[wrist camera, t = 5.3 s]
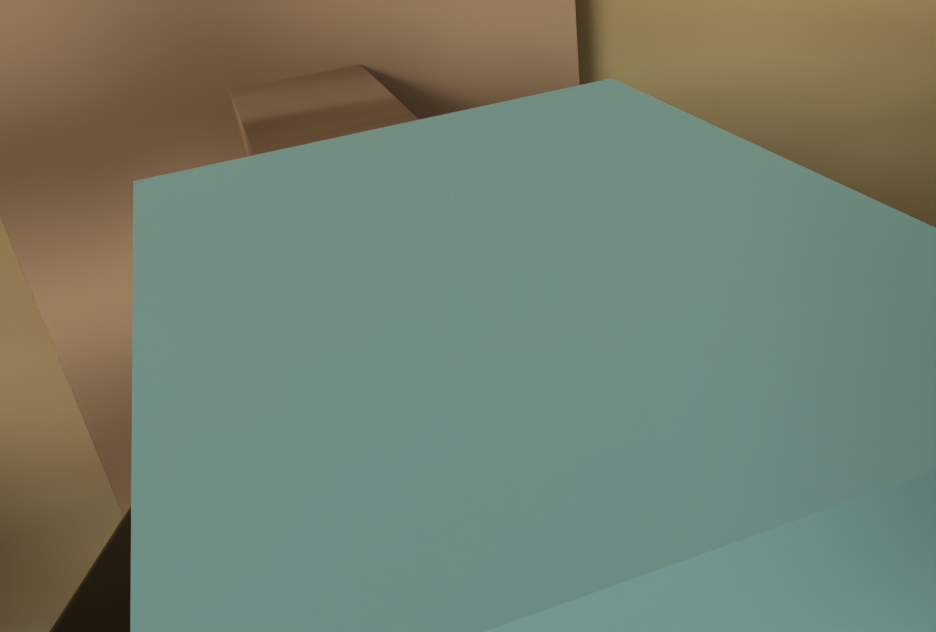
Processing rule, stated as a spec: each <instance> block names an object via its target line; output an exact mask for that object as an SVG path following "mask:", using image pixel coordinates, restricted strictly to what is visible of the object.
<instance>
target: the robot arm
mask: <svg viewBox="0 0 936 632" xmlns="http://www.w3.org/2000/svg"><path fill="white" fill-rule="evenodd" d="M130 600H131V506H130V508H129V509H128V511H127V512H126V514H125V516H124V517H123V519H122V520H121V522H120V523H119V525H118V526H117V528H116V530H115V531H114V533H113V534H112V536H111V537H110V539H109V540H108V542H107V544H106V545H105V547H104V548H103V550H102V551H101V553H100V554H99V556H98V558H97V559H96V561H95V562H94V564H93V565H92V567H91V568H90V570H89V572H88V573H87V575H86V576H85V578H84V579H83V581H82V582H81V584H80V586H79V587H78V589H77V590H76V592H75V593H74V595H73V596H72V598H71V599H70V601H69V603H68V604H67V606H66V607H65V609H64V610H63V612H62V613H61V615H60V617H59V618H58V620H57V621H56V623H55V624H54V626H53V627H52V629H51V631H50V632H130Z"/></svg>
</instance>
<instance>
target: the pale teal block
mask: <svg viewBox="0 0 936 632" xmlns="http://www.w3.org/2000/svg"><path fill="white" fill-rule="evenodd" d="M130 632H936V228H935V227H933V226H931V225H928V224H926V223H924V222H922V221H920V220H918V219H916V218H913V217H911V216H909V215H907V214H905V213H903V212H900V211H898V210H896V209H894V208H892V207H890V206H887V205H885V204H883V203H881V202H879V201H877V200H874V199H872V198H870V197H868V196H866V195H864V194H861V193H859V192H857V191H855V190H853V189H851V188H848V187H846V186H844V185H842V184H840V183H838V182H835V181H833V180H831V179H829V178H827V177H825V176H822V175H820V174H818V173H816V172H814V171H812V170H810V169H807V168H805V167H803V166H801V165H799V164H797V163H794V162H792V161H790V160H788V159H786V158H784V157H781V156H779V155H777V154H775V153H773V152H771V151H768V150H766V149H764V148H762V147H760V146H758V145H755V144H753V143H751V142H749V141H747V140H745V139H742V138H740V137H738V136H736V135H734V134H732V133H729V132H727V131H725V130H723V129H721V128H719V127H717V126H714V125H712V124H710V123H708V122H706V121H704V120H701V119H699V118H697V117H695V116H693V115H691V114H688V113H686V112H684V111H682V110H680V109H678V108H675V107H673V106H671V105H669V104H667V103H665V102H662V101H660V100H658V99H656V98H654V97H652V96H649V95H647V94H645V93H643V92H641V91H639V90H636V89H634V88H632V87H630V86H628V85H626V84H623V83H621V82H619V81H617V80H615V79H613V78H610V79H606V80H601V81H597V82H592V83H587V84H583V85H578V86H573V87H569V88H564V89H559V90H555V91H550V92H545V93H541V94H536V95H531V96H527V97H522V98H518V99H513V100H508V101H504V102H499V103H494V104H490V105H485V106H480V107H476V108H471V109H466V110H462V111H457V112H452V113H448V114H443V115H439V116H434V117H429V118H425V119H420V120H415V121H411V122H406V123H401V124H397V125H392V126H387V127H383V128H378V129H373V130H369V131H364V132H360V133H355V134H350V135H346V136H341V137H336V138H332V139H327V140H322V141H318V142H313V143H308V144H304V145H299V146H294V147H290V148H285V149H281V150H276V151H271V152H267V153H262V154H257V155H253V156H248V157H243V158H239V159H234V160H229V161H225V162H220V163H215V164H211V165H206V166H202V167H197V168H192V169H188V170H183V171H178V172H174V173H169V174H164V175H160V176H155V177H150V178H146V179H141V180H136V181H133V308H132V453H131V600H130Z"/></svg>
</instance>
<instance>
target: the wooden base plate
mask: <svg viewBox="0 0 936 632" xmlns="http://www.w3.org/2000/svg"><path fill="white" fill-rule="evenodd" d="M578 85H580V83H579V64H578V46H577V28H576V9H575V0H0V218H1V220H2V222H3V225H4V227H5V230H6V232H7V235H8V237H9V239H10V242H11V244H12V247H13V249H14V252H15V254H16V256H17V259H18V261H19V264H20V266H21V269H22V271H23V273H24V276H25V278H26V281H27V283H28V286H29V288H30V290H31V293H32V295H33V298H34V300H35V302H36V305H37V307H38V310H39V312H40V315H41V317H42V319H43V322H44V324H45V327H46V329H47V332H48V334H49V336H50V339H51V341H52V344H53V346H54V349H55V351H56V353H57V356H58V358H59V361H60V363H61V366H62V368H63V370H64V373H65V375H66V378H67V380H68V383H69V385H70V387H71V390H72V392H73V395H74V397H75V399H76V402H77V404H78V407H79V409H80V412H81V414H82V416H83V419H84V421H85V424H86V426H87V429H88V431H89V433H90V436H91V438H92V441H93V443H94V446H95V448H96V450H97V453H98V455H99V458H100V460H101V463H102V465H103V467H104V470H105V472H106V475H107V477H108V480H109V482H110V484H111V487H112V489H113V492H114V494H115V497H116V499H117V501H118V504H119V506H120V509H121V511H122V513H123V516H125V514H126V512H127V511H128V509H129V508H130V506H131V453H132V308H133V181H136V180H141V179H146V178H150V177H155V176H160V175H164V174H169V173H174V172H178V171H183V170H188V169H192V168H197V167H202V166H206V165H211V164H215V163H220V162H225V161H229V160H234V159H239V158H243V157H248V156H253V155H257V154H262V153H267V152H271V151H276V150H281V149H285V148H290V147H294V146H299V145H304V144H308V143H313V142H318V141H322V140H327V139H332V138H336V137H341V136H346V135H350V134H355V133H360V132H364V131H369V130H373V129H378V128H383V127H387V126H392V125H397V124H401V123H406V122H411V121H415V120H420V119H425V118H429V117H434V116H439V115H443V114H448V113H452V112H457V111H462V110H466V109H471V108H476V107H480V106H485V105H490V104H494V103H499V102H504V101H508V100H513V99H518V98H522V97H527V96H531V95H536V94H541V93H545V92H550V91H555V90H559V89H564V88H569V87H573V86H578Z"/></svg>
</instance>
